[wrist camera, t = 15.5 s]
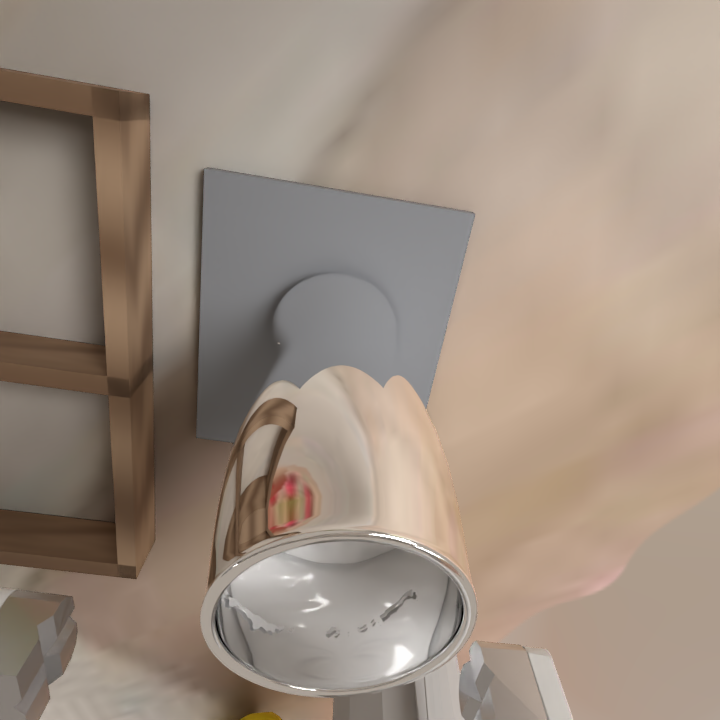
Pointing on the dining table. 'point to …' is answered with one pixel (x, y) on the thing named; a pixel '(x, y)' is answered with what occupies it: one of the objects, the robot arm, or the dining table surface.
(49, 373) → the frame
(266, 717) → the banana
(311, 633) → the beer glass
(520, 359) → the dining table surface
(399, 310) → the charcoal mat
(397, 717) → the water bottle
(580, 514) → the dining table surface
